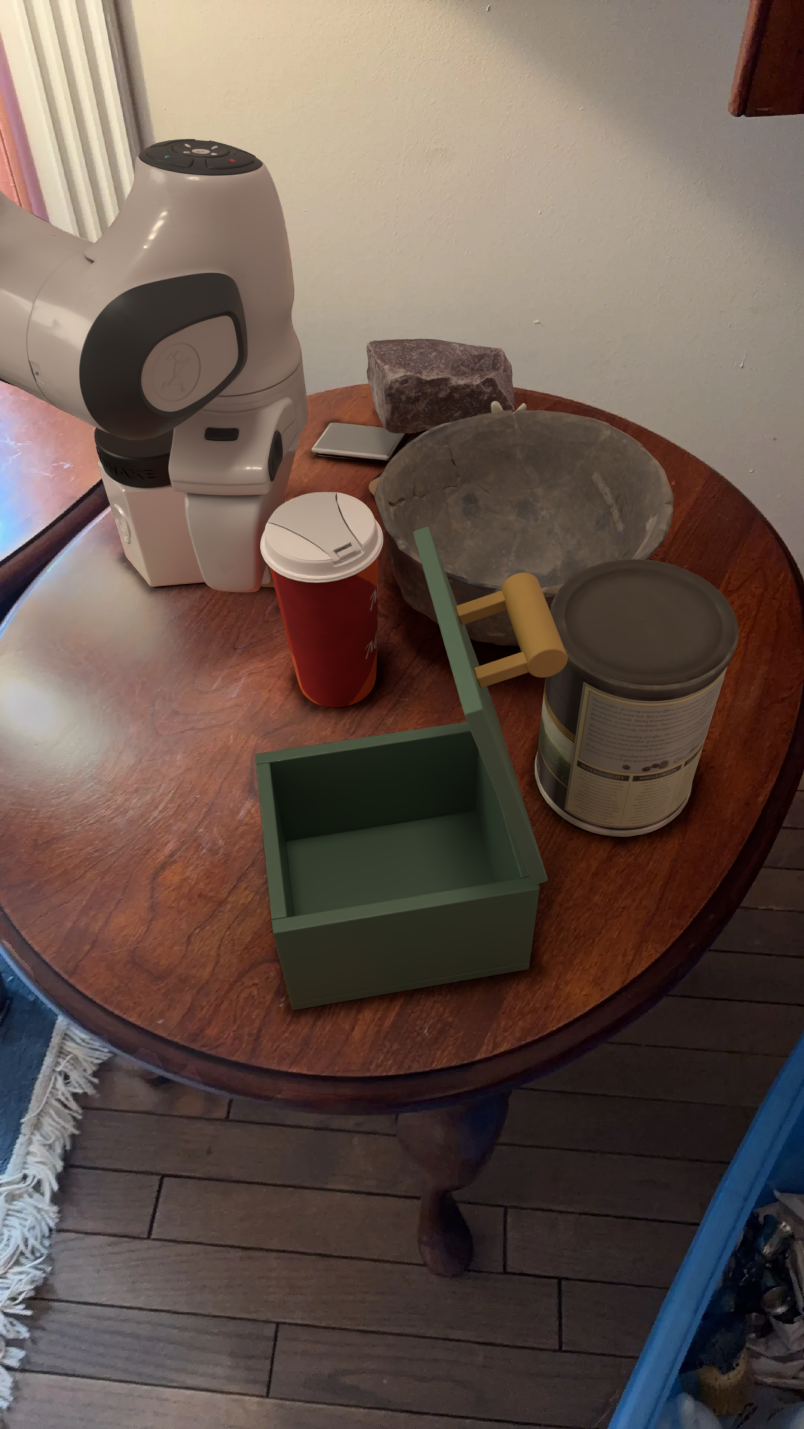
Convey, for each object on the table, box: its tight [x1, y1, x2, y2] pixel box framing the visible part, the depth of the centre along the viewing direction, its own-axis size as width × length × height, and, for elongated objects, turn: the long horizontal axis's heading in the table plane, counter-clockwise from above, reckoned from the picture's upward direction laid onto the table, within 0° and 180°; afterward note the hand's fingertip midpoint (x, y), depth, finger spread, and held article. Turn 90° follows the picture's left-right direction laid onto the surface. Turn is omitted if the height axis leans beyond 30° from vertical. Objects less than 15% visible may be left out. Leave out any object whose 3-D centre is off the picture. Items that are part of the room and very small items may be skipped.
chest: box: [254, 721, 540, 1011], centre depth 59 cm, size 14×12×9 cm
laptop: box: [311, 422, 407, 464], centre depth 92 cm, size 7×6×2 cm
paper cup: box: [260, 491, 384, 708], centre depth 69 cm, size 8×8×14 cm
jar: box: [93, 427, 205, 588], centre depth 79 cm, size 9×8×12 cm
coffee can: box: [534, 559, 740, 838], centre depth 63 cm, size 10×10×14 cm
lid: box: [413, 527, 568, 885], centre depth 50 cm, size 15×12×5 cm
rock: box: [365, 338, 516, 434], centre depth 89 cm, size 14×14×15 cm
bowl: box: [374, 409, 675, 647], centre depth 75 cm, size 21×21×10 cm
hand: (267, 555), depth 81 cm, fingers closed on block, 4 cm apart
